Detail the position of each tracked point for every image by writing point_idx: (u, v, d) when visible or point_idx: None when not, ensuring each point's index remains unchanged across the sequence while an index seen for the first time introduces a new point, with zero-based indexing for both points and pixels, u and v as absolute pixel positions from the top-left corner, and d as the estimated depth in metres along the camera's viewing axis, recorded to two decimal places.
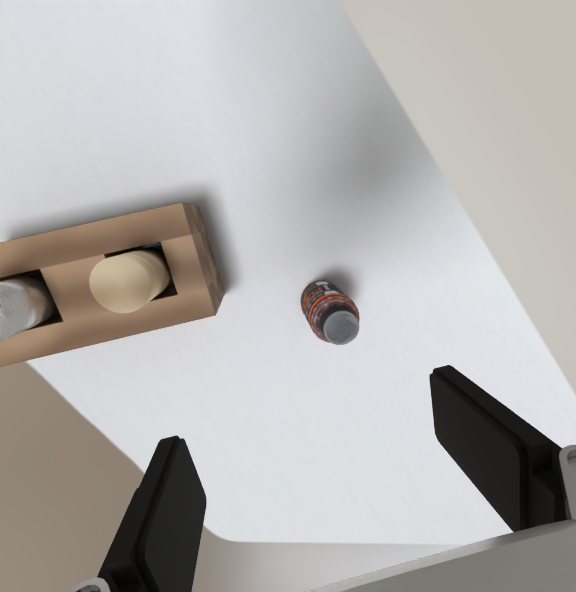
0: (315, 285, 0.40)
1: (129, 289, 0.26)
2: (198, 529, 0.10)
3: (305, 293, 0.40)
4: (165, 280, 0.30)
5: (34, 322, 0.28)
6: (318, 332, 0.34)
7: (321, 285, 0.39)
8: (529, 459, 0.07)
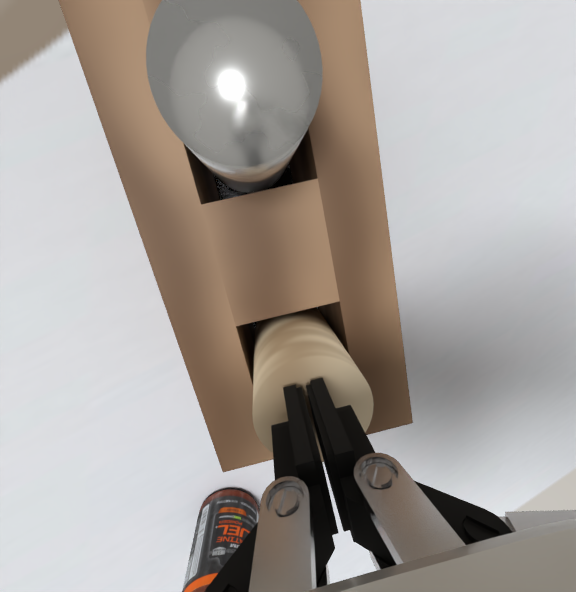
0: (255, 517, 0.28)
1: None
2: None
3: (243, 507, 0.27)
4: None
5: (205, 164, 0.12)
6: None
7: None
8: (337, 465, 0.08)
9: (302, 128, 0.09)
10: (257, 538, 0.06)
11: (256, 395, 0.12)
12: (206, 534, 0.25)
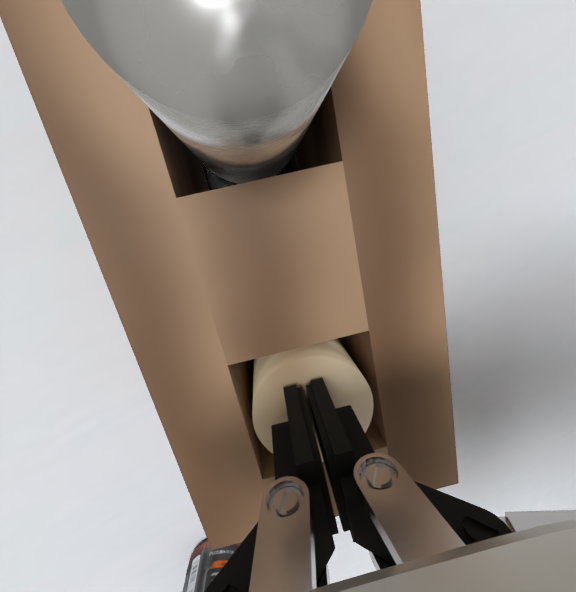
0: None
1: None
2: None
3: None
4: None
5: (176, 134, 0.08)
6: None
7: None
8: (337, 465, 0.08)
9: (341, 49, 0.05)
10: (257, 538, 0.06)
11: (256, 395, 0.12)
12: None
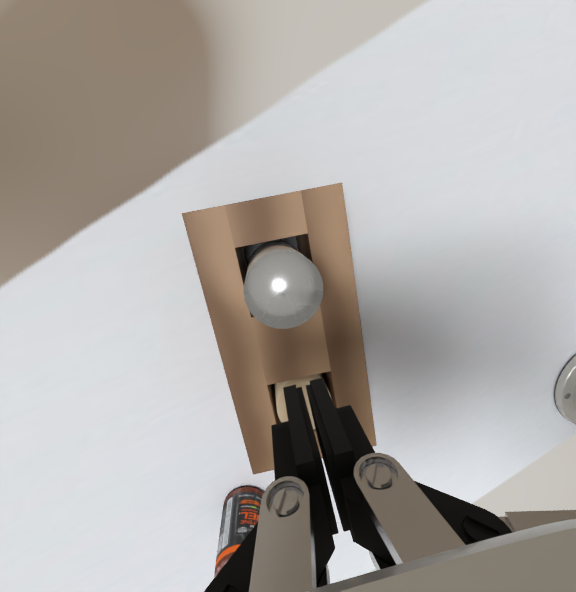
0: None
1: None
2: None
3: (257, 500, 0.37)
4: None
5: None
6: None
7: None
8: (337, 465, 0.08)
9: (313, 312, 0.19)
10: (257, 538, 0.06)
11: (279, 398, 0.26)
12: (232, 518, 0.35)
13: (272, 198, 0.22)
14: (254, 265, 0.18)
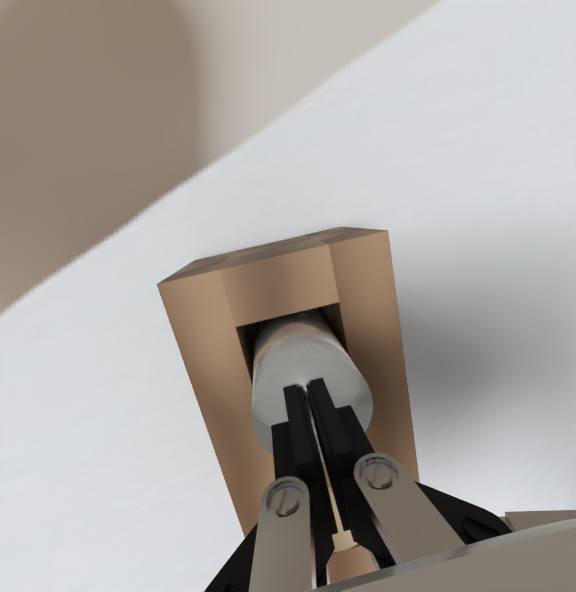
0: None
1: None
2: None
3: None
4: None
5: None
6: None
7: None
8: (337, 465, 0.08)
9: None
10: (257, 538, 0.06)
11: None
12: None
13: (288, 257, 0.15)
14: (267, 381, 0.11)
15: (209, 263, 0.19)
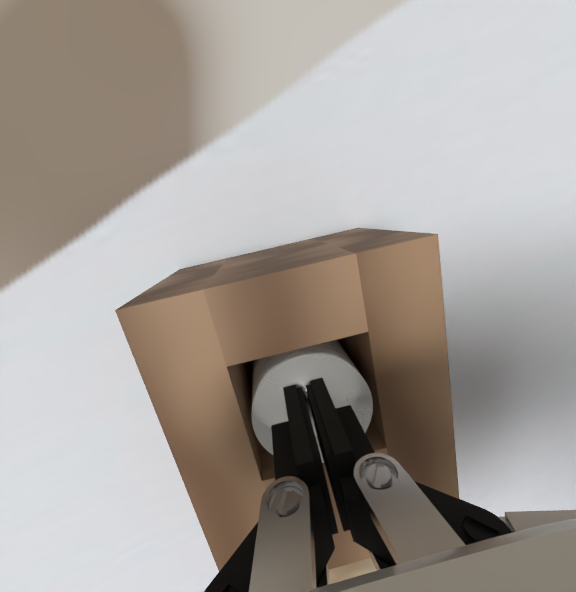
0: None
1: None
2: None
3: None
4: None
5: None
6: None
7: None
8: (337, 465, 0.08)
9: None
10: (257, 538, 0.06)
11: None
12: None
13: (299, 271, 0.11)
14: (267, 381, 0.11)
15: (194, 276, 0.14)
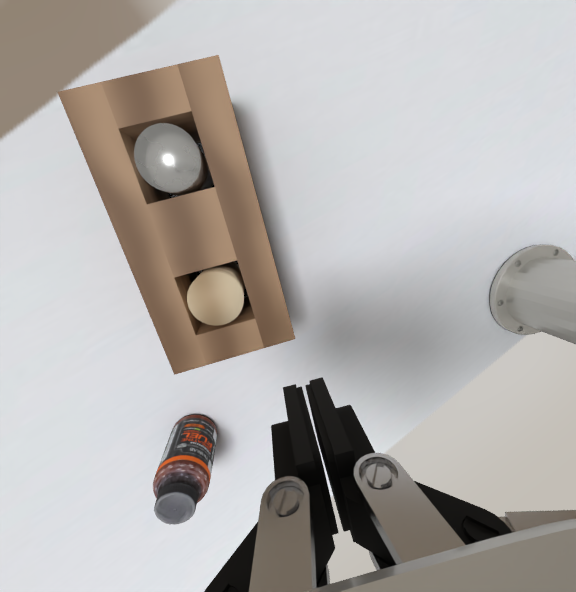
0: (212, 432, 0.38)
1: (212, 307, 0.27)
2: None
3: (202, 424, 0.38)
4: None
5: None
6: (164, 475, 0.31)
7: (213, 442, 0.37)
8: (337, 465, 0.08)
9: (195, 177, 0.24)
10: (257, 538, 0.06)
11: (188, 291, 0.26)
12: (174, 439, 0.35)
13: (149, 73, 0.22)
14: (139, 136, 0.23)
15: None
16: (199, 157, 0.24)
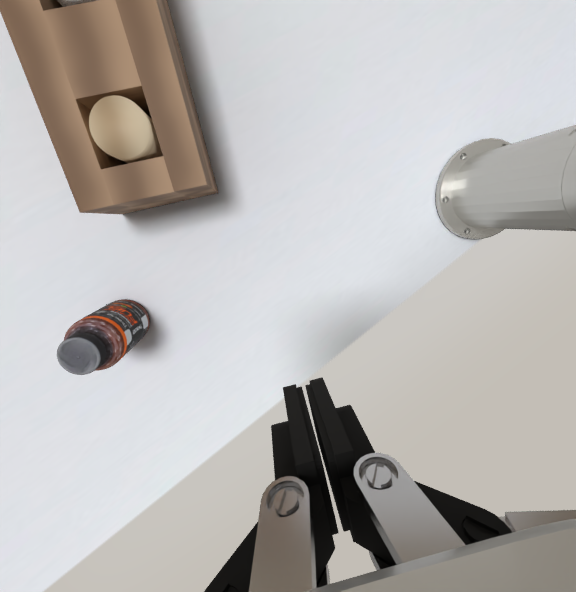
0: (141, 315, 0.37)
1: (116, 136, 0.26)
2: None
3: (131, 305, 0.37)
4: None
5: None
6: (73, 329, 0.30)
7: (140, 322, 0.36)
8: (337, 465, 0.08)
9: None
10: (257, 538, 0.06)
11: (90, 116, 0.25)
12: (97, 310, 0.34)
13: None
14: None
15: None
16: None
